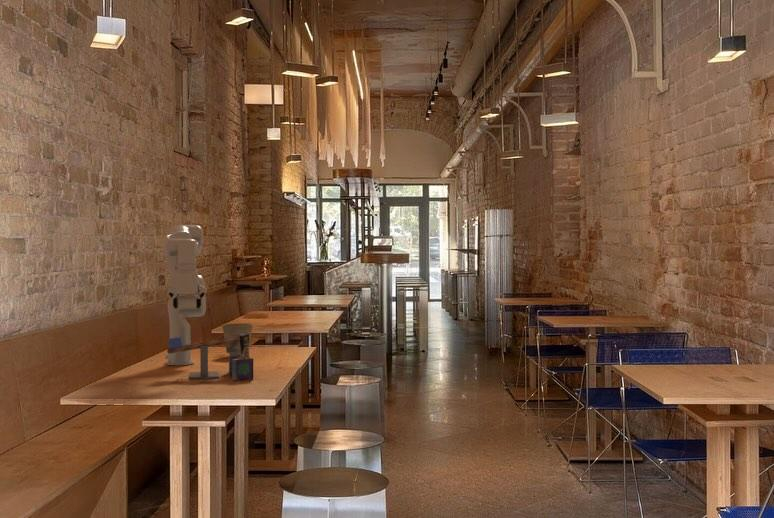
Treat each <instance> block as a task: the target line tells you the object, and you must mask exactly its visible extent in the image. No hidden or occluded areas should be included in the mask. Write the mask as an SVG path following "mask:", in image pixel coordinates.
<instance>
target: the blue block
mask: <svg viewBox="0 0 774 518" xmlns="http://www.w3.org/2000/svg"><path fill="white" fill-rule="evenodd" d="M168 344H169V348H170V350H171V349H177V348H183V346H182V339H181V336H179V337H173V338H170V337H169V338H168Z"/></svg>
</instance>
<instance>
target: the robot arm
mask: <svg viewBox="0 0 774 518" xmlns="http://www.w3.org/2000/svg"><path fill="white" fill-rule="evenodd" d="M204 237H205V236H204V230H203V228H202V227H201V226H200V225H196V224H179V225H176V226H174V227H173V228H171V231H170V234H167V235H166V237H165V239H164V241H163V252H164V253H163V254H164V256H165V258H166V261H167V264H168V267H169V287H167V288H166V292H167V294H168V295H169V296H170V299H169V300H168V301H167V312H168V319H169V320H168V321H169V338H173V337H179V336H181V339H182V346H184V345H190V344H191V343H192V342H191V325H190V323H189V322H188V321H187V319H186V318H193V317H203V316H205V314H206V310H207V306H206V305H207V304H206V303H207V301H206V293H207V291H208V288H207V287H205V285H206V283H205V280H204V277H203V275H200V274H199V273H198V271H197V255H199V254H201V252H202V249H203V243H204ZM180 295H182V296H180ZM192 295H193V296H192ZM191 352H192V350H188V351H182V352H176V353H170V354H168V353H167V355H165V357H164V358H165V359H166V360H167V359H168V360H167V361H166V365H168V366H175V367H178V366H189V365H190V366H191V365H193V364H195V360H193V359H192V358H191V355H192V353H191Z"/></svg>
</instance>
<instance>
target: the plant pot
mask: <svg viewBox="0 0 774 518" xmlns="http://www.w3.org/2000/svg"><path fill="white" fill-rule="evenodd" d="M222 331H223V336H224V338H223V339H226V338H229V336H230V335H234V334H249V343H250V341H251V337H252V332H253V324H252V323H226V324H222Z"/></svg>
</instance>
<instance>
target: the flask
mask: <svg viewBox="0 0 774 518" xmlns="http://www.w3.org/2000/svg"><path fill="white" fill-rule="evenodd" d="M240 356H241V357H240V358H241V359H233V360H232V376H231V380H232V382H243V381H252V380H254V358H253V357H250V356H249V357H248V358H247V357H244V356H243V354H242V355H240Z"/></svg>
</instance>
